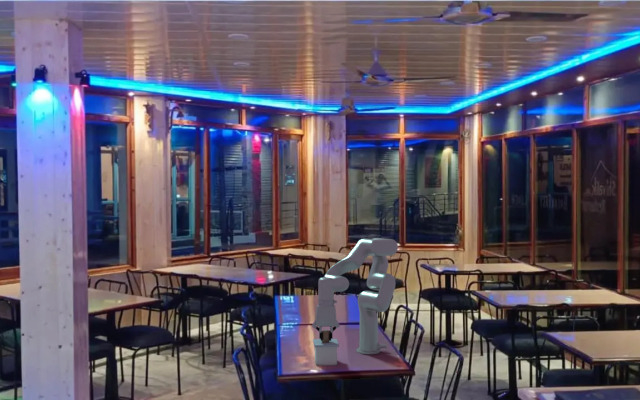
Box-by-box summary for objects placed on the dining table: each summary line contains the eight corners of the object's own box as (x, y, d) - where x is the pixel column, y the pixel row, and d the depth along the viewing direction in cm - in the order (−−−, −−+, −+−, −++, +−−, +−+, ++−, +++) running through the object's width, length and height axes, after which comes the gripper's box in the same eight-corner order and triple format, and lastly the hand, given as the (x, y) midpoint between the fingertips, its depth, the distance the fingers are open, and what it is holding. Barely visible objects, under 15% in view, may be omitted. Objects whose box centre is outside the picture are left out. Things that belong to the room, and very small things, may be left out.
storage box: (334, 359, 303) (335, 341, 303) (336, 365, 293) (337, 346, 293) (314, 359, 303) (314, 341, 302) (316, 365, 293) (316, 346, 292)
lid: (336, 340, 304) (336, 327, 304) (338, 347, 292) (338, 333, 292) (313, 341, 303) (313, 328, 303) (314, 347, 292) (314, 333, 291)
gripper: (342, 301, 302) (341, 338, 302) (308, 301, 300) (308, 338, 301) (343, 304, 294) (343, 342, 295) (309, 304, 293) (309, 342, 293)
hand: (325, 339), depth 298 cm, fingers closed on lid, 3 cm apart
